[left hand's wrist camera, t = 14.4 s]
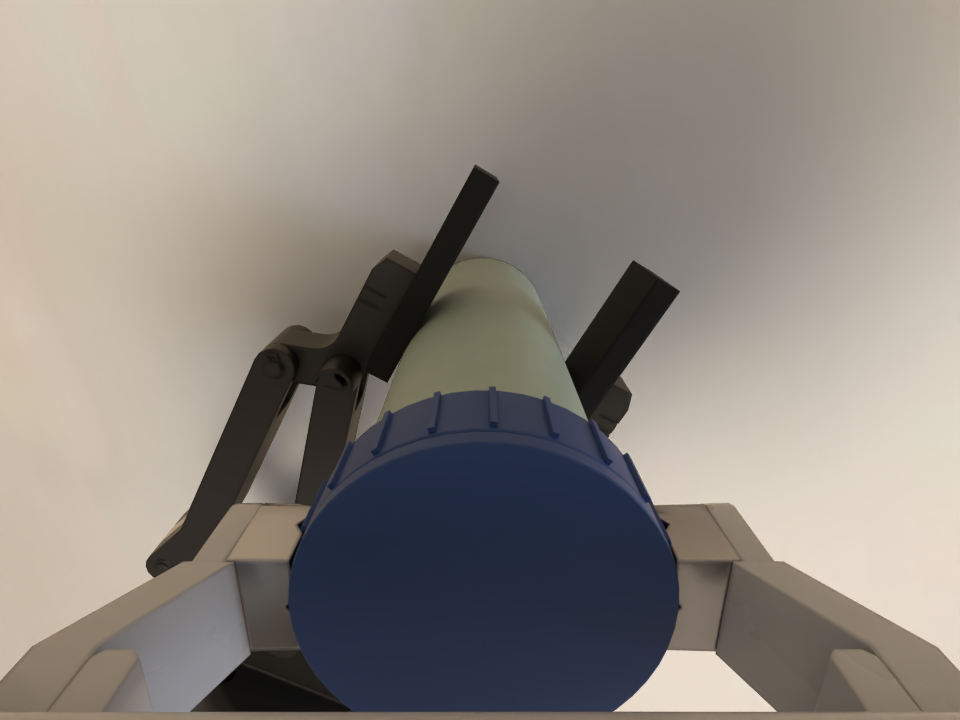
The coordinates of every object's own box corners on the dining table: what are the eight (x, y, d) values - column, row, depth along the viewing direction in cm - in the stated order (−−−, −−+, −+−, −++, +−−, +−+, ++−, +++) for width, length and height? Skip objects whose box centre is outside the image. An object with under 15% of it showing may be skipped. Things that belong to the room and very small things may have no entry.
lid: (714, 553, 10) (761, 634, 9) (465, 707, 12) (462, 802, 10) (508, 311, 9) (515, 350, 7) (246, 521, 10) (198, 597, 8)
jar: (554, 356, 24) (667, 672, 10) (442, 386, 25) (385, 729, 10) (525, 242, 23) (607, 414, 8) (405, 277, 23) (273, 499, 8)
